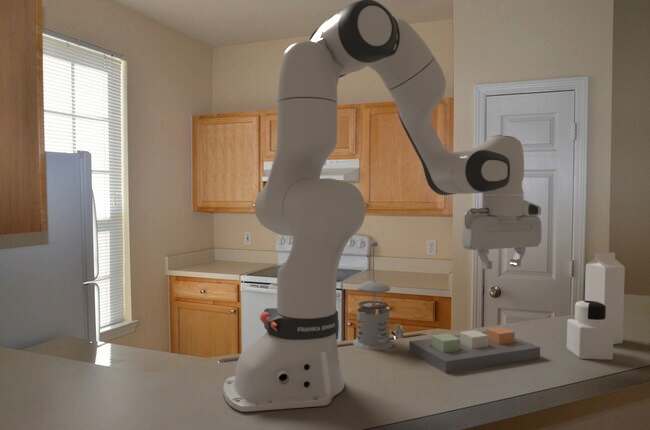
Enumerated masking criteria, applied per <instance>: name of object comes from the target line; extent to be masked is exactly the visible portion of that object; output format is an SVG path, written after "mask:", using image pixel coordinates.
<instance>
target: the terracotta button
mask: <svg viewBox="0 0 650 430" xmlns="http://www.w3.org/2000/svg"><path fill="white" fill-rule="evenodd" d="M485 332H486V335H488V341H490V342H493V343H495V344H497V345H504V344H511V343H514V338H516V335H515V333H516V332H515V331H513V330H511V329H508V328H505V327H502V326H498V327H489V328H485Z"/></svg>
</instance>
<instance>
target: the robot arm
mask: <svg viewBox="0 0 650 430" xmlns="http://www.w3.org/2000/svg"><path fill="white" fill-rule="evenodd" d="M281 58H282V59H281V63H280V69H279V74H278V75H279V76H278V84H277V109H276V110H277V112H276V113H277V120H276V121H277V124H276V125H277V126H276V146H275V151H274V157H273V160H272V164H271V167H270V171H269V175H268V178H267V180H266V182H265V184H264V186H263V188H261V189H260V191H259V193H258V194H257V196H256V199H255V203H254V209H255V210H254V212H255V216H256V218H257V220H258V222H259V223H260V224H261V226H263V227H264V228H266V229H268V230H269V231H271V232H274V233H276V234H278V235H281V236H286V237H292V238H293V239H292V245H291V249H290V252H289V255H288V257H287V259H286V261H285V262H283V263H282V264H281V265H280V267H279V268H278V271H277V274H276V278H277V279H276V287H277V289H276V291H277V293H276V301H277V302H276V305H277V307H276V309H277V310H276V311H275V312H273V313H272V314H270V313H269V312H268V311H263V312H261V314H260V316H259V320H260V321H261V323H263V324H264V325H266V332H265V334H263V335H262V336H261V337H260V338H258V339H257V340H256V341H255V342H253V343H251V345H250V346H249V347H248V348H246V349H245V350H243V351H242V352H241V354H240V355H239V358H238V360H237V364H236V368H235V375H233V376H229V377H228V378H227V379H225V381H224V383H223V387H222V394H223V397H224V399H225V401H226V402H227V404H228V405H229V406H230V407H231V408H233V409H234V410H237V411H239V412H242V413H243V412H245V413H247V412H259V411H260V412H261V411H262V412H263V411H274V410H287V409H300V408H311V407H323V406H328V405H329V404H330V403H331V402H332V399H333V398H334V397H335V396H337V395H338V394H340V393H341V392H342V391H343V389H344V388H345V381H344V378H343V375H342V371H341V367H340V364H341V363H340V360H339V353H338V352H339V351H338V339H339V331H340V329H339V327H340V326H339V325H340V323H339V312H338V310H337V281H338V279H337V277H338V269H339V265H340V262H341V258H342V255H343V252H344V250H345V249H346V245H347V244H348V243H349V241H350V239H351V238H352V237H353V236H355V235H356V234H358V232H359V230H360V229H361V227H362V226H363V224H364V221H365V218H366V202H365V198H364V196H363V194H362V192H361V191H360V189H358V187H357V186H356V185H354V184H352V183H349V182H346V181H343V180H339V179H336V178H321V174H322V172H323V171H322V170H323V168H324V164H325V162H326V161H327V159H328V157H329V156H330V155H331V154H332V153H333V152H334V151H335V149H336V146H337V144H338V84H339V80H340V79H341V78H342V77H345V76H346V75H349V74H352V73H355V72H359V71H361V70H363V69H364V68H366V67H369V68H370V69H372V70H373V71H375V72H376V73H377V74H378V76H379V77H380V79H381V81H382V82H383V84H384V85H385V87H386V89H387V91H388V92H389V94H390V96H391V97H392V98H393V100H394V103H395V105H396V107H397V114H398V119H399V121H400V123H401V125H402V128H403V129H404V132H405V133H406V136H407V137H408V139H409V141H410V142H409V143H410V144H411V145H412V147H413V149H414V151H415V153H416V155H417V157H418V158H419V160H420V163H421V165H422V168H423V173H424V176H425V180H426V182H427V185H428V186H429V188H430V189H431V190H432V191H433V192H434V193H436V194H438V195H440V196H450V195H457V194H459V195H460V194H466V195H467V194H482V204H481V205H482V207H479V208H475V207H473V208H469V210H468V211H466V213H465V214H464V221H463V222H464V223H463V227H462V234H461V245H462V247H463V248H464V249H465V250H469V251H477V255H478V257H479V258H480V261H481V268H482V269H483V270H491V269H493V261H492V260H490V259H489V257H488V255H489V254H490V253H489V252H490V250H499V249H502V250H503V249H514V250H513V251H514V252H515V253H514V256H513V257H512V258H511V259H510V266H511V267H512V268H519V267H521V266H522V259H523V257H524V255H525V254H526V248H535V247H539V245H540V244H541V242H542V230H543V229H542V221H541V218H540V217H539V216H541V214H542V207H541V206H539V205H537V204H536V203H535V204H534V203H533V202H530V201H528V200H525V199H524V197H525V196H524V195H525V194H524V190H523V181H524V177H525V155H524V149H523V145H522V142H521V140H519V139H518V138H516V137H514V136H510V135H498V134H497V135H492V136H488V137H487V138H486V140H485V141H484V142H483V143H481V144H480V145H478V146H476V147H473V148H471V149H467V150H461V151H451V150H448V149H447V148H446V147H445V146H444V144H443V143H442V140H441V138H440V137H439V135H438V133H437V131H436V129H435V126H434V124H433V122H432V117H431V116H432V112H433V111H435V109H436V107H438V105H439V104H440V103H441V101H442V100H443V97H444V95H445V92H446V87H447V80H446V76H445V74H444V71H443V69H442V67H441V65H440V64H439V63H438V61H437V59H436V57H435V56H434V54H433V52H432V51H431V49H430V47H428V45H427V43H425V41H424V40H423V38H422V37H421V36H420V35H419V33H417V31H416V30H415V29H414V28H413V27H412V26H411V24H410V23H409V22H407V21H406V20H405V19H401V18H396V17H394V16H393V14H392V13H391V12H390V10H389V9H387V8H386V7H385V5H383V4H382V3H380V2H378V1H376V0H358V1H355V2H352V3H350V4H349V5H347V6H346V7H345V8H344V9H342V10H340V11H338V12H337V13H335V14H333V15H331V16H330V17H329V18H328V19H326V21H324V22H323V23H322V24H321V25H320V26H319V27H318V28H317V29H316V30H314V31H313V33H312V34H311V35H310V37H309V39H308V40H302V41H297V42H295V43H293V44H291V45H289V46H288V47H287V48H286V49H285V51H284V52H283V54H282V57H281Z"/></svg>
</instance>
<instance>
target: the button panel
mask: <svg viewBox="0 0 650 430" xmlns="http://www.w3.org/2000/svg"><path fill="white" fill-rule="evenodd" d="M480 332H481V333H483V334H486V331H480ZM454 336H455V337H457V338H459V337H460V334H456V335H455V334H454ZM408 347H409V348H408V352H410V353H411V354H413V355H415V356H417V358H420V359H422V360H423V361H424V360H425V362H426V361H427V362H426V363H428V364H430V365H431V366H433V367H435V368H436V367H437V368H436V369H438V370H439V371H441V370H442V372H443V373H445V374H447V373H452V372H453V373H454V372H461V371H467V370H472V369H479V368H484V367H485V368H486V367H491V366H492V367H493V366H497V365H504V364H510V363H516V362H523V361H530V360H535V359H540V358H541V347H540V346H538V345H535V344H533V343H529V342H527V341H525V340H522V339H520V338H517V337H515V338H514V343H511V344H504V345H497V344H495V343H493V342H490V341H488V347H483V348H476V349H470V348H468V347H466V346H464V345H462V344H460V351H454V352H447V353H442V352H440V351H438V350H436V349H434V348H432V337H431V338H426V339H425V338H424V339H417V340H416V339H415V340H410V341H409V343H408Z"/></svg>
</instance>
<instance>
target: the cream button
mask: <svg viewBox="0 0 650 430" xmlns="http://www.w3.org/2000/svg"><path fill="white" fill-rule="evenodd" d="M481 332H482V331H478V330H476V329H474V330H473V329H472V330H466V331H464V330H463V331H460V332H459V335H460V337H459V339H460V344H462V345H464V346H466V347H468V348H470V349H476V348H483V347H488V335H486V334H483V333H481Z"/></svg>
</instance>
